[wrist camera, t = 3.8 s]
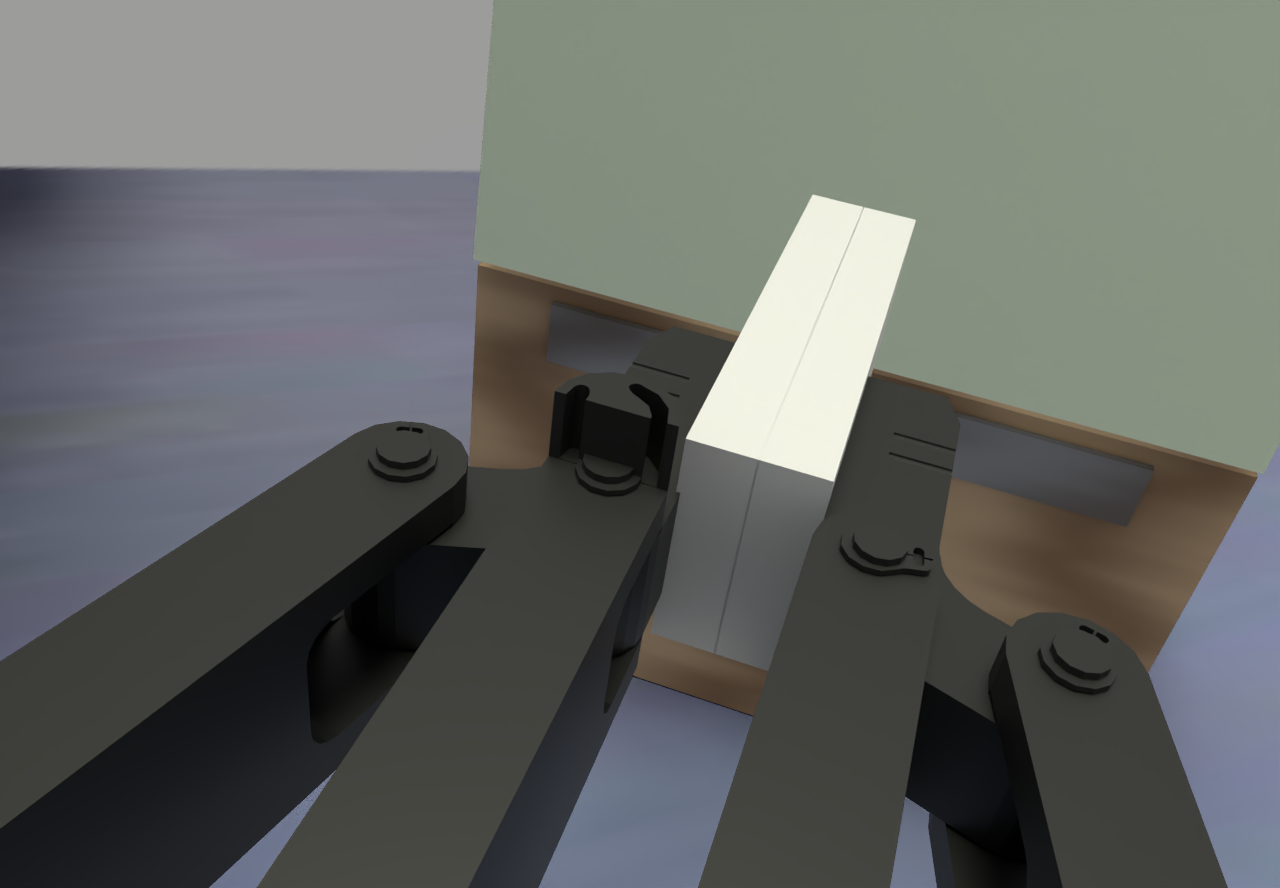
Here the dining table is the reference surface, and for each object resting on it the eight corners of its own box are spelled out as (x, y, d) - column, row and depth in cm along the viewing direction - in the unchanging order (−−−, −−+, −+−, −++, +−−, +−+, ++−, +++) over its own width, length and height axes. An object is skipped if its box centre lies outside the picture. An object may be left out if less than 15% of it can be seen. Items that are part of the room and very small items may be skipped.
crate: (459, 623, 35) (474, 268, 28) (596, 413, 44) (634, 110, 37) (1064, 825, 32) (1258, 482, 24) (1071, 552, 41) (1212, 249, 34)
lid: (487, 248, 28) (472, 259, 27) (539, -360, 21) (522, -365, 21) (1257, 455, 24) (1263, 474, 24) (1585, -187, 18) (1606, -187, 17)
